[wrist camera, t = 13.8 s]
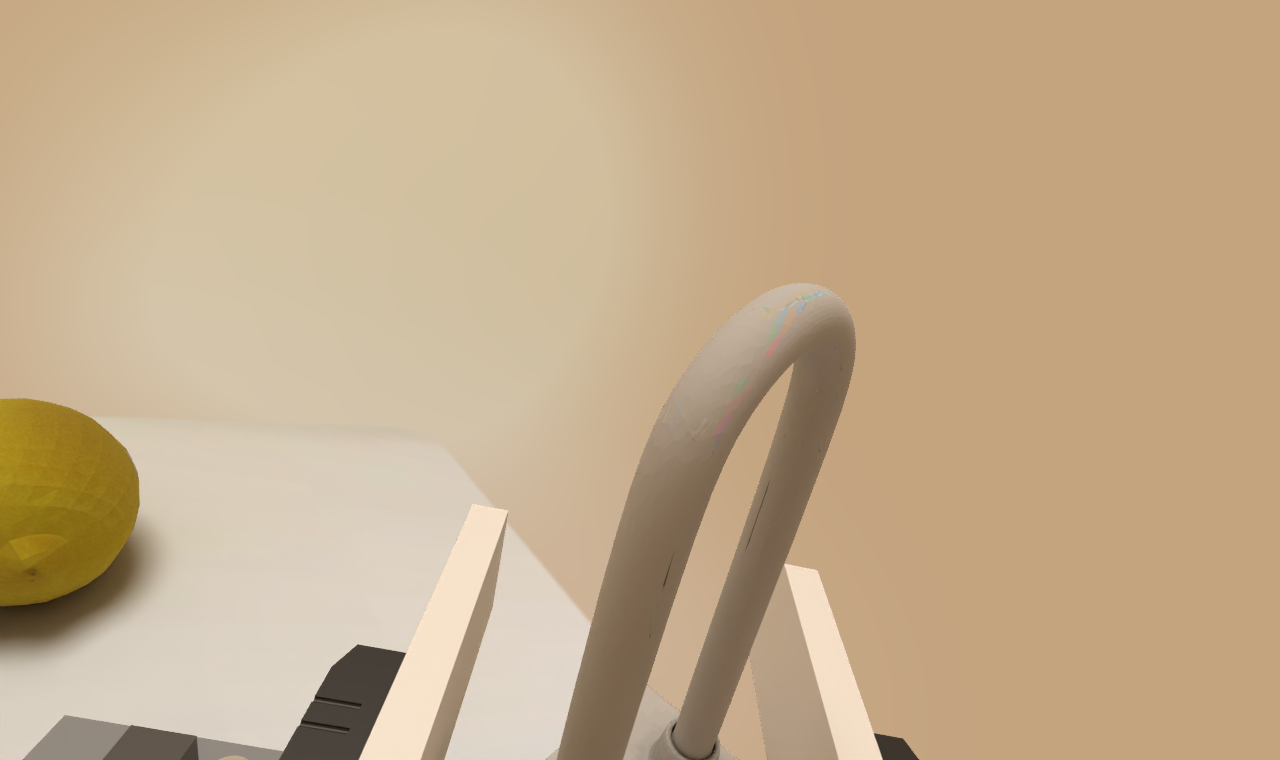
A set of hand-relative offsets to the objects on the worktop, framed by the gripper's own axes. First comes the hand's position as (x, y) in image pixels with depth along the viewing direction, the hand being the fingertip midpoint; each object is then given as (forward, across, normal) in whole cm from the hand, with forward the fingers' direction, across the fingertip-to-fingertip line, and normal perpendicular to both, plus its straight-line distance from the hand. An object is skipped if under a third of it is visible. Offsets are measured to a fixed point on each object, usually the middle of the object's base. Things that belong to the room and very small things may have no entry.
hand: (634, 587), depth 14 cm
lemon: (+12, -25, -15) cm, 31 cm away
